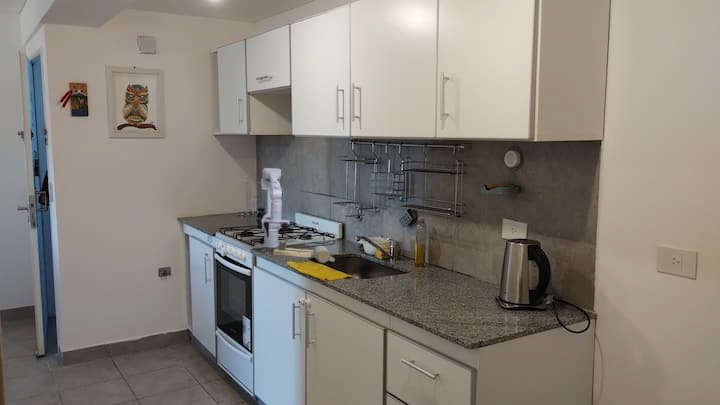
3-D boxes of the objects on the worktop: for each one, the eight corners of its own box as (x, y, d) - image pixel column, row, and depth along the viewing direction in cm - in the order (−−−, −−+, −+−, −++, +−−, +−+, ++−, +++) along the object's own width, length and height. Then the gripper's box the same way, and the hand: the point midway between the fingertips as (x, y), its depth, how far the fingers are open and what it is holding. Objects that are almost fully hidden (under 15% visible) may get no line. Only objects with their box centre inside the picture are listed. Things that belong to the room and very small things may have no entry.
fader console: (277, 250, 316) (277, 247, 316) (313, 253, 314) (313, 249, 314) (273, 254, 307) (273, 250, 307) (310, 257, 306) (310, 253, 305)
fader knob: (280, 248, 313) (280, 240, 313) (286, 248, 313) (286, 241, 312) (278, 249, 309) (279, 242, 309) (284, 250, 309) (284, 242, 308)
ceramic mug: (316, 263, 294) (317, 249, 293) (312, 259, 302) (313, 245, 300) (336, 263, 297) (337, 249, 296) (332, 259, 305) (333, 245, 304)
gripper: (261, 212, 302) (260, 237, 303) (289, 213, 302) (288, 239, 304) (262, 210, 309) (262, 235, 310) (290, 211, 309) (289, 236, 311)
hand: (275, 237), depth 308 cm, fingers open, 7 cm apart
